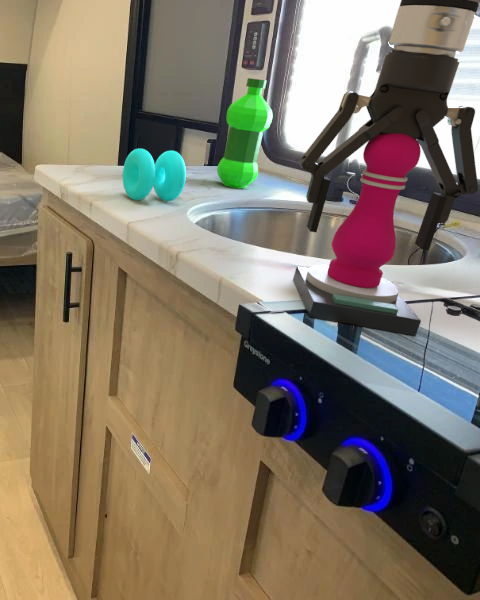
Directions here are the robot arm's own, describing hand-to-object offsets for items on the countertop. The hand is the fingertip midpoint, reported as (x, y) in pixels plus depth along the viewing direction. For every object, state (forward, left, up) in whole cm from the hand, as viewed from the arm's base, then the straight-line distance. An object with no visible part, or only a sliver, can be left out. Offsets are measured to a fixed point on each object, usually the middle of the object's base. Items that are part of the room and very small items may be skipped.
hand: (365, 238), depth 74 cm
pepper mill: (0, 0, -6) cm, 6 cm away
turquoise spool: (+29, -43, -9) cm, 53 cm away
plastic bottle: (+11, -75, -9) cm, 77 cm away
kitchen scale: (0, +2, -9) cm, 9 cm away
